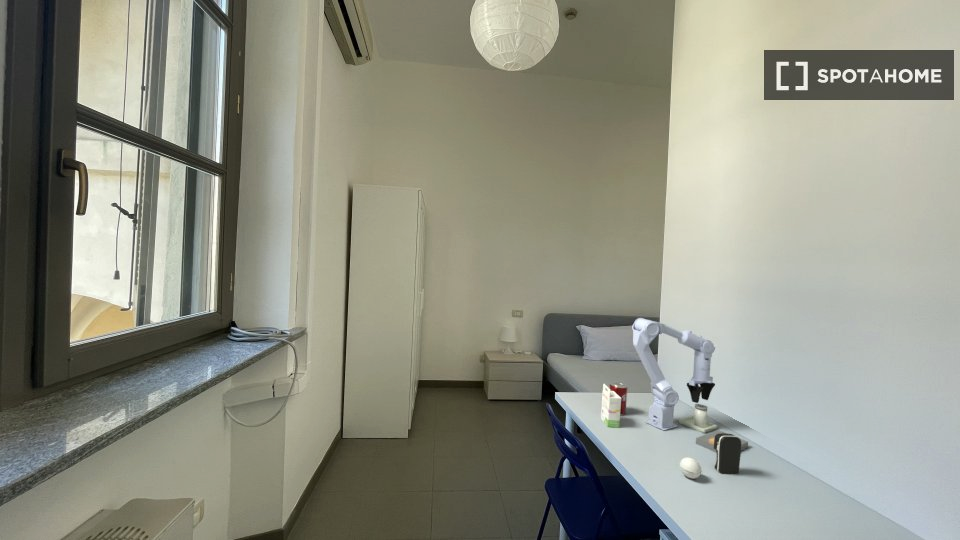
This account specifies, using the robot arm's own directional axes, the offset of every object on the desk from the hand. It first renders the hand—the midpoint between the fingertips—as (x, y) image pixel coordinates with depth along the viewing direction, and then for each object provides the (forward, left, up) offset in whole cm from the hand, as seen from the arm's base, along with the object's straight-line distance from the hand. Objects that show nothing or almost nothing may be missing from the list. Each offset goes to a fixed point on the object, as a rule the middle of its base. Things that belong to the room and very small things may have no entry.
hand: (700, 400), depth 143 cm
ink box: (-33, +17, -11) cm, 39 cm away
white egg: (-42, -20, -11) cm, 48 cm away
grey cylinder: (-1, -1, -10) cm, 10 cm away
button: (-14, -13, -10) cm, 22 cm away
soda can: (-21, +23, -11) cm, 33 cm away
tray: (0, 0, -10) cm, 10 cm away
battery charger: (-27, -22, -11) cm, 37 cm away
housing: (-9, -13, -10) cm, 19 cm away
